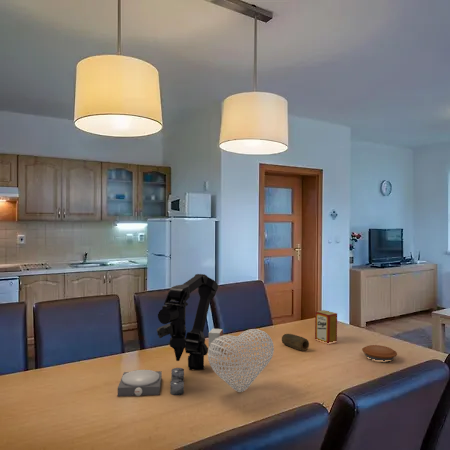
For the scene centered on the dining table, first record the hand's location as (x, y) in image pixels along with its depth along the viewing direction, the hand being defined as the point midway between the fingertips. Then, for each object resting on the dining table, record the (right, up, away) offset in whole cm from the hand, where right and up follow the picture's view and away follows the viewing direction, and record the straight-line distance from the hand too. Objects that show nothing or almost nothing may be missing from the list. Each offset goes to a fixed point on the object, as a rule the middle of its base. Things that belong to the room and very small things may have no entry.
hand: (178, 356), depth 160 cm
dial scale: (-13, -9, -7) cm, 18 cm away
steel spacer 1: (0, -9, 0) cm, 9 cm away
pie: (+92, -11, +29) cm, 97 cm away
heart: (+25, -10, -11) cm, 29 cm away
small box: (+14, -9, +35) cm, 39 cm away
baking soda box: (+74, -10, +55) cm, 92 cm away
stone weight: (+55, -10, +43) cm, 70 cm away
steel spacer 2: (+1, -9, -12) cm, 15 cm away
